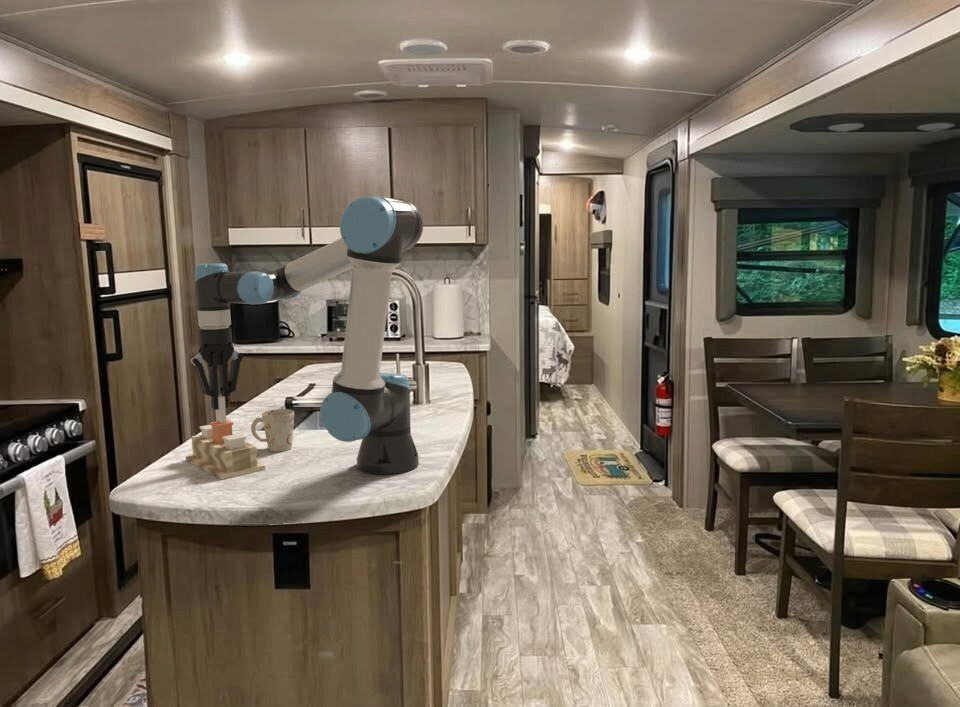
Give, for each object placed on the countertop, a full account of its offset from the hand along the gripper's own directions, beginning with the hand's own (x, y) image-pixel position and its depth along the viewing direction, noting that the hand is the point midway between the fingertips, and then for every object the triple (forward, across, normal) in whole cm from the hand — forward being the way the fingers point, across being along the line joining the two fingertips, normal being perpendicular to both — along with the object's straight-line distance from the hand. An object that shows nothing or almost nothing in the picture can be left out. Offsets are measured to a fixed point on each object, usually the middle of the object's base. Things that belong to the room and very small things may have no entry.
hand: (221, 421), depth 185 cm
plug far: (+10, 0, -7) cm, 12 cm away
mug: (+11, -16, -5) cm, 20 cm away
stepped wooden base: (+11, 0, 0) cm, 11 cm away
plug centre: (+8, 0, 0) cm, 8 cm away
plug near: (+10, 0, +7) cm, 12 cm away
